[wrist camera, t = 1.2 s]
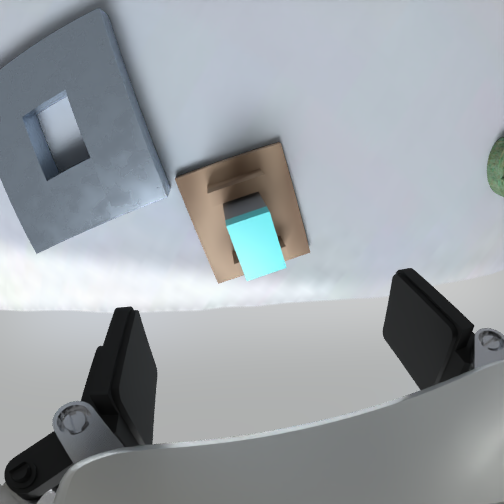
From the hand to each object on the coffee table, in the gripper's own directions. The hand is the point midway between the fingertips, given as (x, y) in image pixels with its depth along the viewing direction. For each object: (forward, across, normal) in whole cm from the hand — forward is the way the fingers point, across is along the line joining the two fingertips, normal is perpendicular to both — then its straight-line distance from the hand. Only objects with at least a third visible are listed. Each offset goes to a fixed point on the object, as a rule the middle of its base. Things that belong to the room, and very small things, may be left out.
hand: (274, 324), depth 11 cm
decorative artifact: (+26, -45, -1) cm, 52 cm away
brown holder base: (+27, -2, +5) cm, 28 cm away
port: (+27, +17, -8) cm, 33 cm away
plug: (+26, -2, +5) cm, 27 cm away
